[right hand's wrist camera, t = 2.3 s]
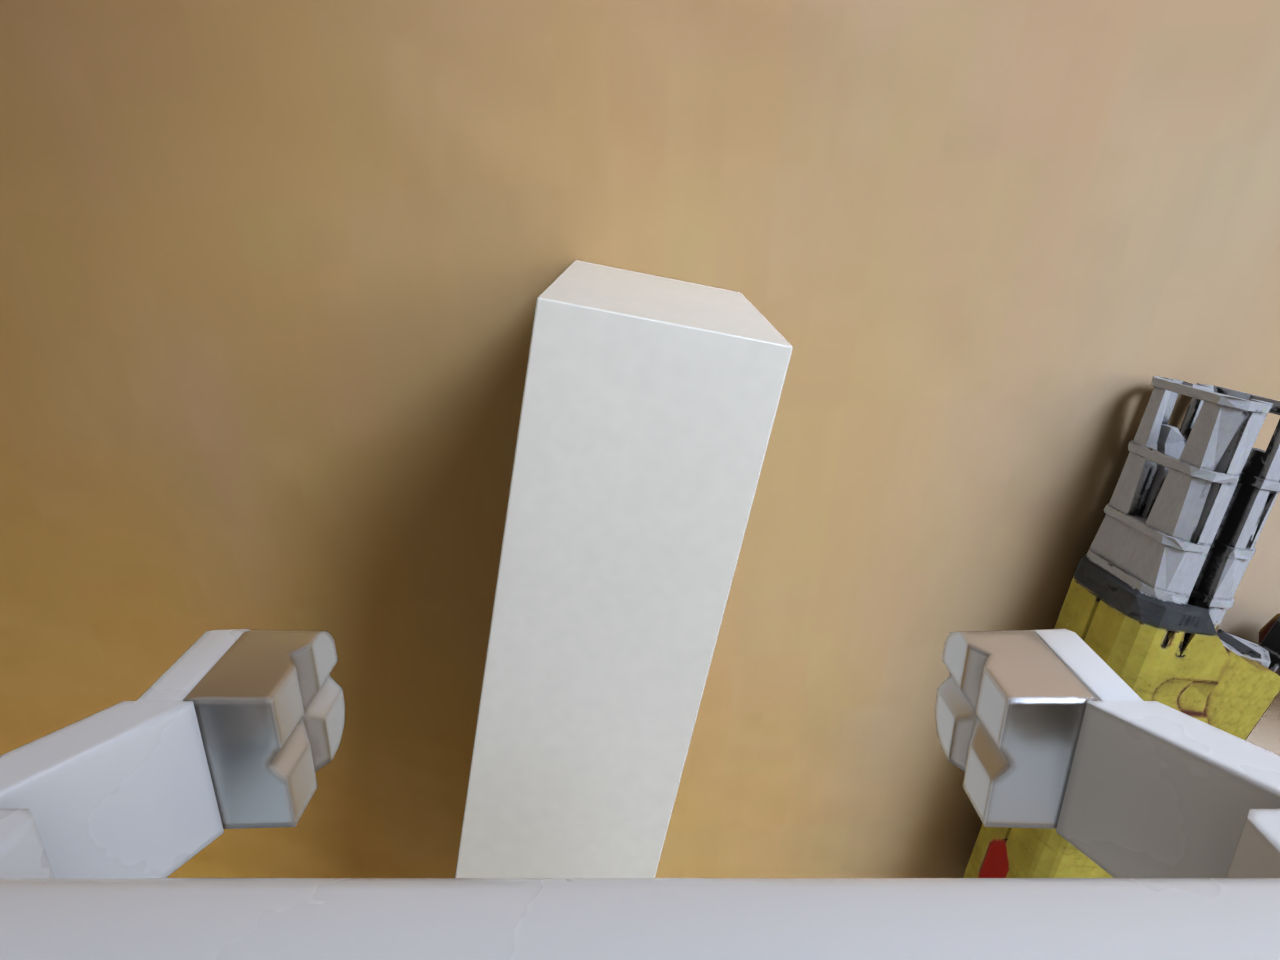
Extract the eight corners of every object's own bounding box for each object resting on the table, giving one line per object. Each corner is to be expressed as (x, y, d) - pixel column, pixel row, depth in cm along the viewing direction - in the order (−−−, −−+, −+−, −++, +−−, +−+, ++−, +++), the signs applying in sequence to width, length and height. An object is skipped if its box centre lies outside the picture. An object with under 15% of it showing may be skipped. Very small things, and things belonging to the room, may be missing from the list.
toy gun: (1661, 469, 24) (1241, 400, 22) (1325, 1032, 31) (986, 1021, 29) (1489, 430, 28) (1127, 369, 26) (1230, 931, 36) (929, 915, 34)
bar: (574, 259, 25) (536, 296, 16) (741, 292, 25) (793, 346, 17) (483, 849, 34) (425, 1085, 25) (608, 868, 34) (595, 1107, 25)
